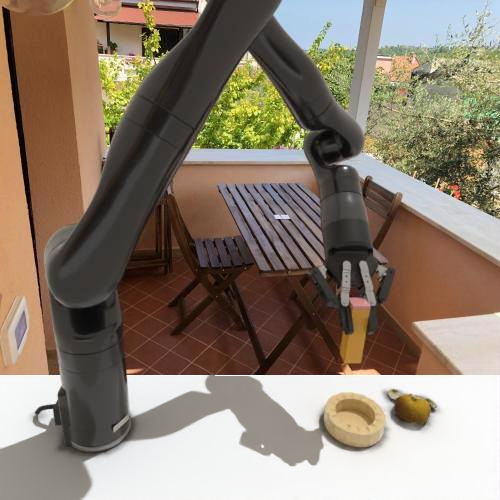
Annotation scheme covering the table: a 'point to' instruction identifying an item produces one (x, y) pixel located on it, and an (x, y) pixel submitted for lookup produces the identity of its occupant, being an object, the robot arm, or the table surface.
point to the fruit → (411, 407)
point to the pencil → (356, 331)
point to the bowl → (354, 419)
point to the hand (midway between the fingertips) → (360, 333)
